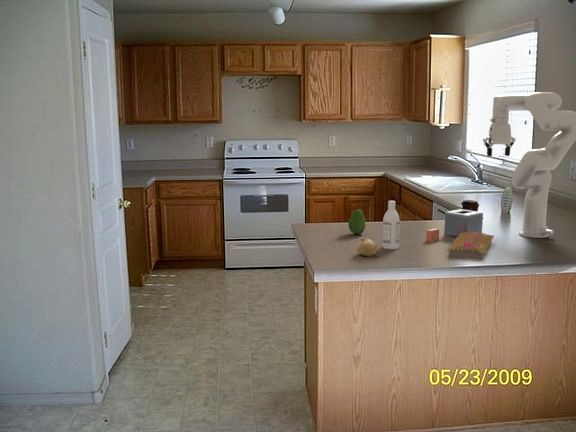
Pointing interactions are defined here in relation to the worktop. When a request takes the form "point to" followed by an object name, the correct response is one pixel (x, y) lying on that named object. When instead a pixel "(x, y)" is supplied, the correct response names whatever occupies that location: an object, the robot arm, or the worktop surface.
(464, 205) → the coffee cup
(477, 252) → the brown and pink package
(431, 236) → the token
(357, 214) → the avocado
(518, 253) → the worktop surface
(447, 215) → the box
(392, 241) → the bath foam
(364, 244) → the onion
